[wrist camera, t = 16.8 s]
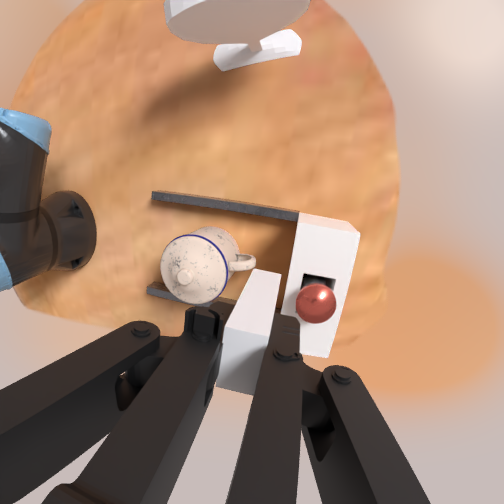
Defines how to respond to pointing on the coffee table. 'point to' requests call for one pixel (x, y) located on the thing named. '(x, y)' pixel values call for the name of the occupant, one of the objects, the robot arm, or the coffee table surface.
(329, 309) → the red knob
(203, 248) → the teacup with lid
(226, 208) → the pair of grey rails
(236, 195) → the coffee table surface
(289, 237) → the coffee table surface
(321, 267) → the end cabinet
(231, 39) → the heart sculpture
